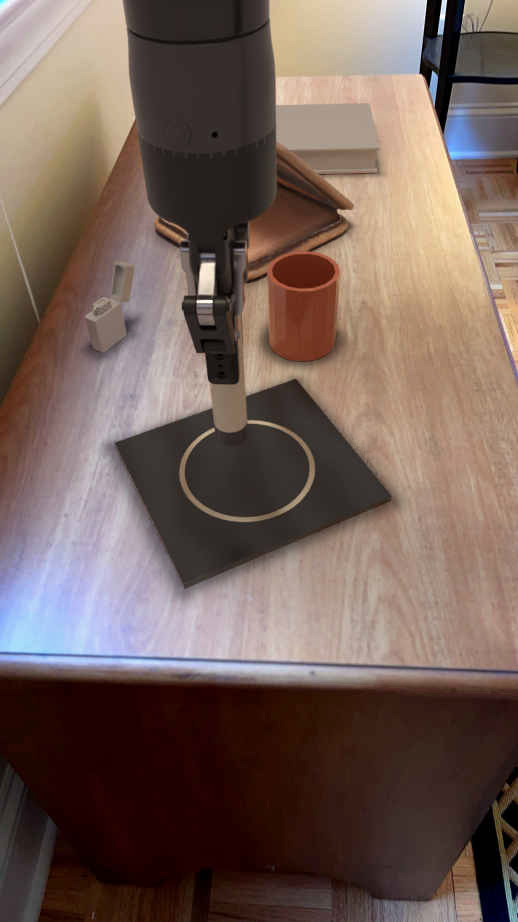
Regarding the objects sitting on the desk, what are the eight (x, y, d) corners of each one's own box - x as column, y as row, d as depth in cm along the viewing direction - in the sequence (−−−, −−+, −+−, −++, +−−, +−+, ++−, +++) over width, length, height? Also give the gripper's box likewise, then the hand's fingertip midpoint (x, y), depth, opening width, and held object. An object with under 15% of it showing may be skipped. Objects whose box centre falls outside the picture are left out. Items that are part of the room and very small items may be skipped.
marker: (239, 419, 56) (230, 293, 47) (253, 439, 54) (247, 313, 46) (210, 429, 55) (195, 304, 46) (223, 450, 54) (211, 324, 45)
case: (360, 228, 94) (371, 103, 82) (243, 289, 85) (236, 159, 73) (260, 178, 104) (257, 62, 92) (147, 228, 95) (127, 106, 83)
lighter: (103, 353, 77) (88, 292, 71) (92, 348, 78) (76, 287, 72) (144, 321, 81) (133, 260, 75) (133, 316, 82) (121, 256, 76)
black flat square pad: (296, 382, 73) (296, 377, 72) (391, 500, 62) (392, 495, 61) (115, 446, 67) (114, 441, 67) (184, 588, 56) (183, 583, 56)
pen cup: (314, 313, 81) (317, 244, 74) (347, 348, 76) (353, 278, 70) (258, 332, 79) (255, 262, 72) (288, 369, 74) (288, 298, 68)
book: (379, 147, 101) (217, 150, 102) (377, 173, 104) (219, 176, 105) (368, 99, 114) (224, 103, 115) (366, 123, 117) (225, 127, 117)
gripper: (268, 177, 32) (273, 437, 45) (281, 69, 41) (282, 310, 54) (110, 177, 32) (159, 434, 45) (158, 70, 42) (187, 308, 55)
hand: (226, 365), depth 50 cm, fingers closed on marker, 2 cm apart
